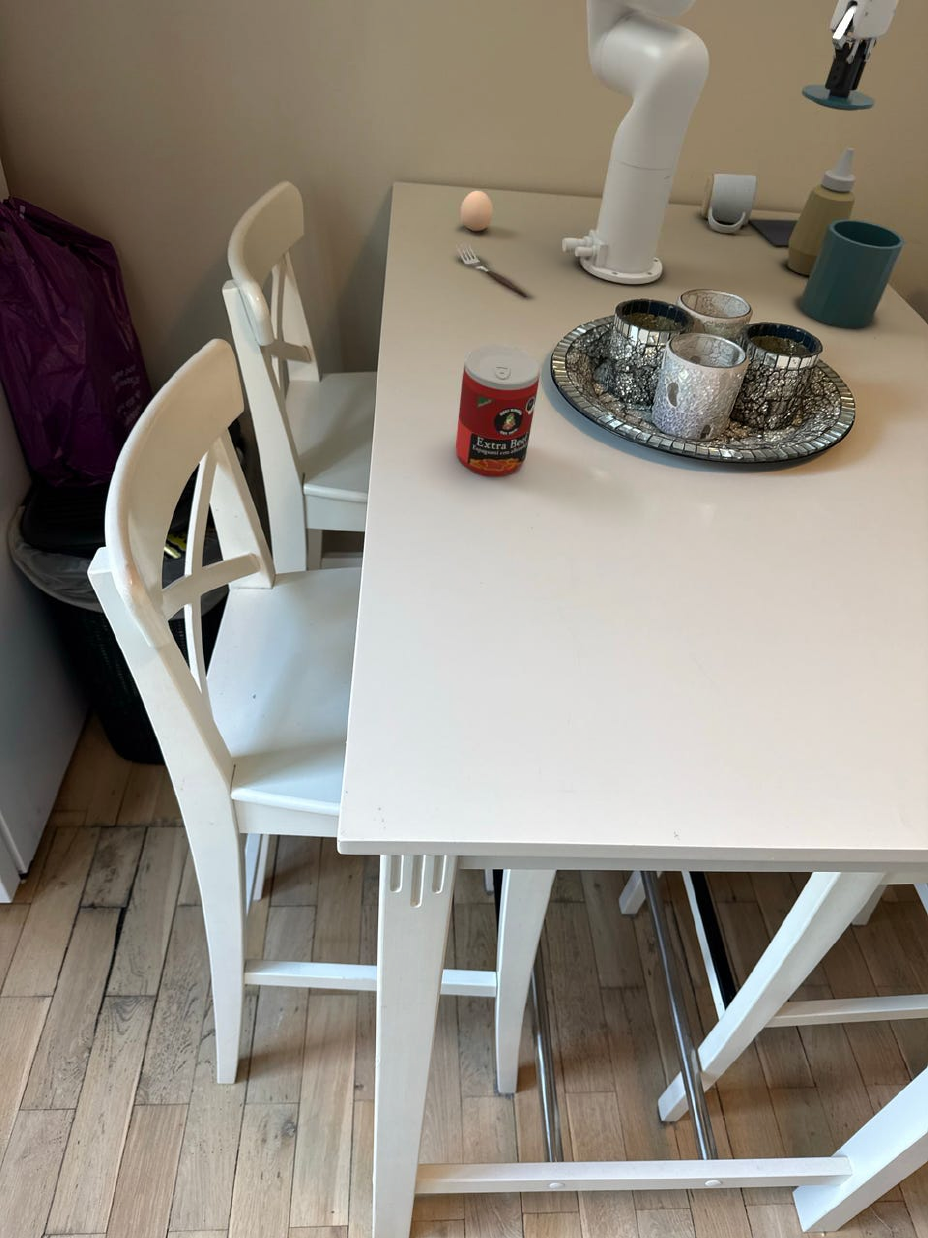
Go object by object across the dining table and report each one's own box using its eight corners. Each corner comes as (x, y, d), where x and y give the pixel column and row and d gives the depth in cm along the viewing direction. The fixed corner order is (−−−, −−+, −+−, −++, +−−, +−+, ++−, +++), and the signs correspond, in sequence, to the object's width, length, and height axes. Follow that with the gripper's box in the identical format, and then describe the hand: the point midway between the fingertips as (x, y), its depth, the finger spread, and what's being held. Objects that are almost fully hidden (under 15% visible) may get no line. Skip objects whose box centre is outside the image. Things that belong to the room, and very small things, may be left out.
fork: (518, 301, 124) (520, 287, 123) (453, 258, 133) (454, 244, 132) (533, 298, 126) (535, 284, 124) (467, 255, 134) (468, 242, 133)
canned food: (465, 480, 91) (477, 385, 84) (446, 438, 97) (455, 345, 89) (535, 475, 93) (552, 381, 86) (512, 433, 99) (526, 342, 91)
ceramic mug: (697, 208, 158) (710, 163, 152) (743, 215, 158) (757, 170, 152) (700, 231, 150) (713, 184, 145) (748, 238, 150) (763, 191, 145)
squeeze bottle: (825, 262, 145) (870, 144, 133) (835, 283, 139) (884, 160, 127) (776, 256, 145) (817, 136, 133) (785, 276, 139) (828, 153, 127)
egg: (492, 226, 143) (496, 188, 139) (488, 238, 139) (492, 199, 135) (461, 221, 143) (465, 183, 139) (456, 233, 139) (460, 194, 135)
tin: (820, 328, 127) (852, 247, 119) (787, 296, 134) (816, 218, 126) (884, 327, 129) (919, 248, 121) (848, 296, 136) (879, 219, 128)
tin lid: (821, 112, 134) (837, 63, 130) (787, 91, 142) (802, 44, 137) (885, 115, 136) (903, 67, 132) (849, 94, 144) (865, 49, 140)
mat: (775, 246, 148) (776, 244, 148) (747, 221, 156) (748, 219, 156) (833, 247, 151) (834, 245, 150) (803, 222, 158) (803, 220, 158)
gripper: (894, -63, 131) (846, 78, 144) (837, -62, 122) (791, 88, 135) (941, -54, 127) (887, 90, 140) (885, -52, 119) (833, 101, 132)
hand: (840, 87), depth 138 cm, fingers closed on tin lid, 3 cm apart
